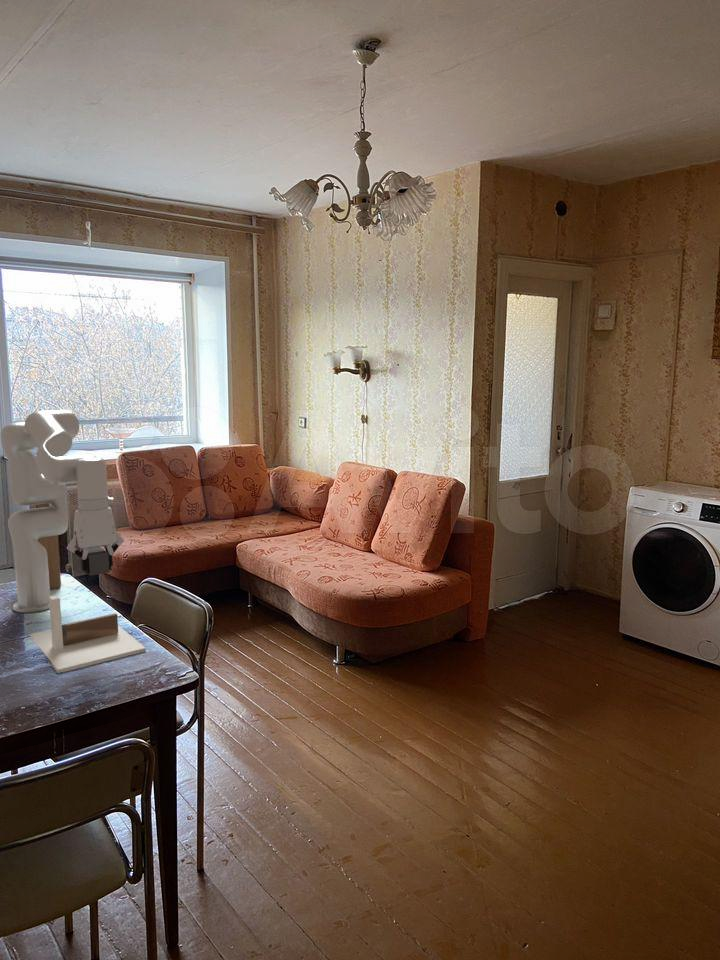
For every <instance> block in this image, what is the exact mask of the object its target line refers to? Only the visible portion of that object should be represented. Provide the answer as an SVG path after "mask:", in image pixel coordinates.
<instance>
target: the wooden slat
mask: <svg viewBox="0 0 720 960" xmlns="http://www.w3.org/2000/svg"><path fill="white" fill-rule="evenodd" d="M118 626H119V621H118V614H117V613H116V612H115V613H112V614H106V615H102V616H101V615H100V616H96V617H93V618H88V619H87V618H86V619H82V620H79V621H73V622H68V623H63V624H62V636H63V645H69V644H73V643H77V642H82V641H86V640H90V639H95V638H99V637H103V636H108V635H112V634H116V633H118Z"/></svg>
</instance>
